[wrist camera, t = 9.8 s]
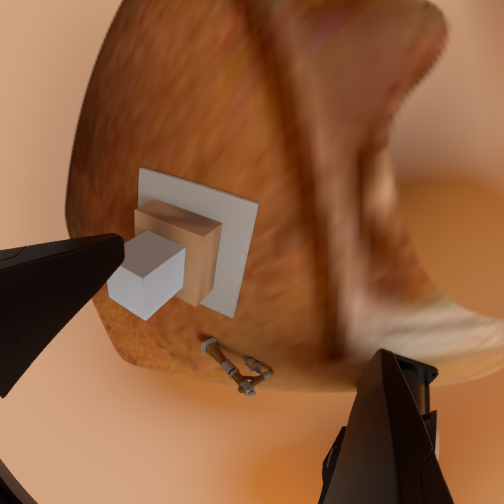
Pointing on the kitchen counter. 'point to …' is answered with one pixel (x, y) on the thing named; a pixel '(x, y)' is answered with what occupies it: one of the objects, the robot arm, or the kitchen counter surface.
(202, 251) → the plinth
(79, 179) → the kitchen counter surface
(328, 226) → the kitchen counter surface
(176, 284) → the grey block
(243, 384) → the wooden post with brackets
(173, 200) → the build mat
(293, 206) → the kitchen counter surface
